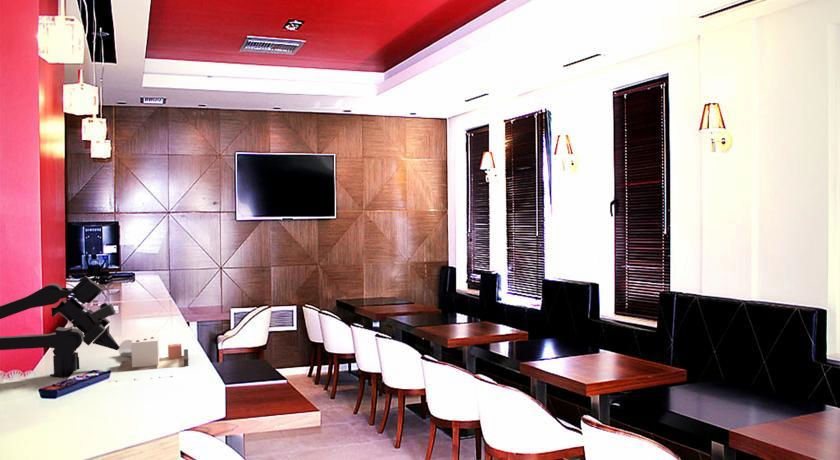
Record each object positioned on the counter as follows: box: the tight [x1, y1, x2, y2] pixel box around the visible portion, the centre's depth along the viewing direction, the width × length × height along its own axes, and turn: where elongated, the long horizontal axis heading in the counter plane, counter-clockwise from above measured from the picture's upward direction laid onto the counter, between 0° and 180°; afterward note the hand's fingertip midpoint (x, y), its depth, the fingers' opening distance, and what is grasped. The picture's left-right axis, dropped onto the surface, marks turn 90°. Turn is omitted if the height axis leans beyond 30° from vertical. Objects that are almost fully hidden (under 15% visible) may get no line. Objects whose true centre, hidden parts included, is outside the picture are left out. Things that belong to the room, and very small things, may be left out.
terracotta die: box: [167, 343, 183, 359], centre depth 229 cm, size 4×4×4 cm
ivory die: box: [131, 336, 160, 367], centre depth 220 cm, size 8×8×8 cm
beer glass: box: [118, 339, 133, 358], centre depth 232 cm, size 7×7×15 cm
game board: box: [117, 348, 189, 373], centre depth 221 cm, size 20×18×3 cm
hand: (118, 348), depth 218 cm, fingers closed
